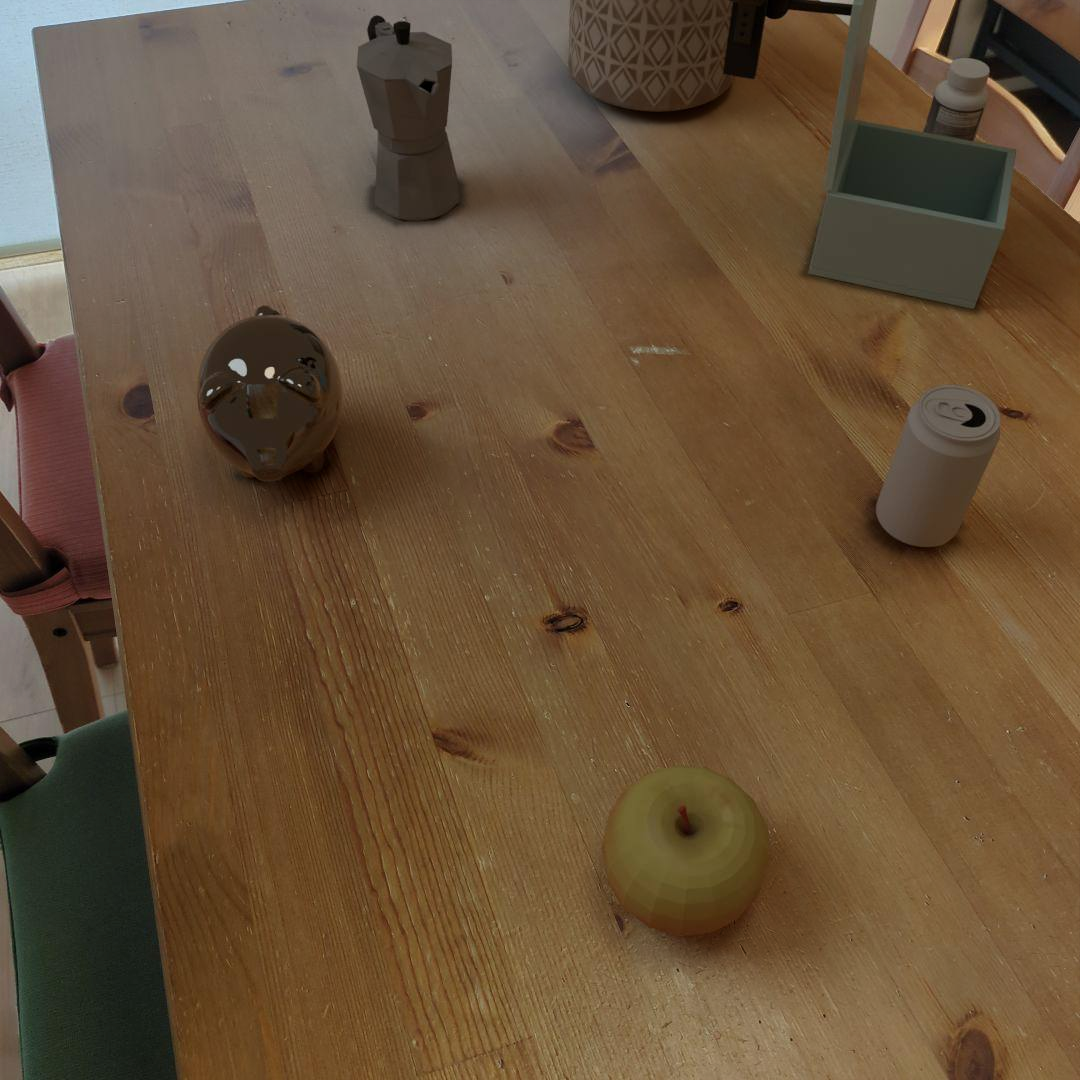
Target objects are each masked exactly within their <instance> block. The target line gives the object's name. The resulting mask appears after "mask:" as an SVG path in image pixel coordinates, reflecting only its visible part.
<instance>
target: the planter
mask: <svg viewBox="0 0 1080 1080" xmlns="http://www.w3.org/2000/svg"><path fill="white" fill-rule="evenodd" d="M732 5H733V2H730V1H729V0H569V18H568V21H569V23H568V57H567V58H568V59H567V60H568V62H567V64H568V65H567V66H568V70H569V74H570V75H571V77H572V79H573V81H574V82H575V84H576V85H577V86H578V87H579V88H580V89H581V90H583V91H584V92H585V93H586V94H588V95H590V96H591V97H593V98H595V99H597V100H599V101H601V102H603V103H607V104H609V105H612V106H615V107H618V108H623V109H628V110H634V111H640V112H641V111H642V112H674V111H675V112H676V111H681V110H686V109H691V108H695V107H698V106H703V105H704V104H707V103H709V102H711V101H713V100H715V99H717V98H719V97H720V96H721V95H723V94H724V92H726V91H727V90H728V89H729V88H730V87H731V85H732V84H733V82H734V80H735V77H736V76H732V75H726V74H723V69H724V62H725V55H726V48H727V41H728V34H729V26H730V19H731V12H732Z"/></svg>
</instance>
